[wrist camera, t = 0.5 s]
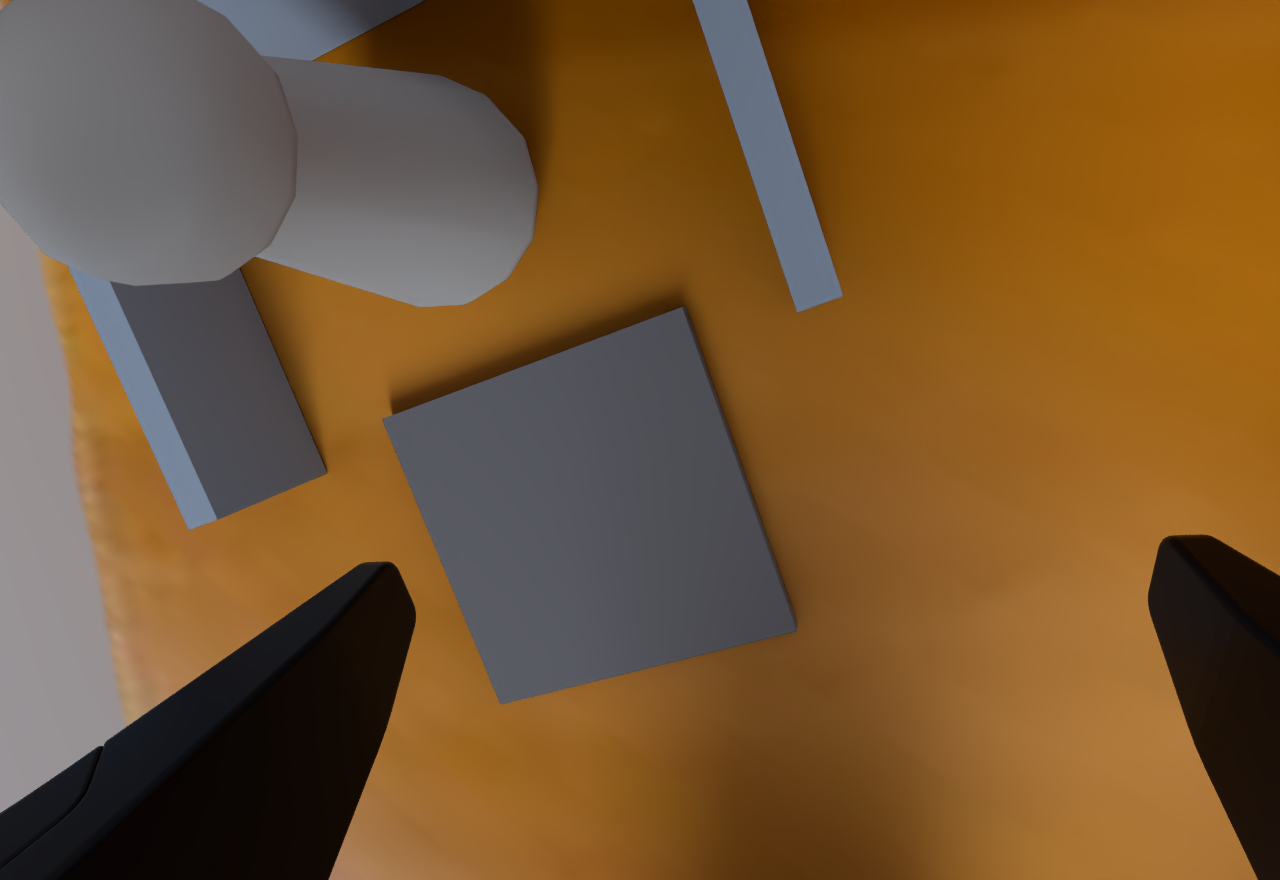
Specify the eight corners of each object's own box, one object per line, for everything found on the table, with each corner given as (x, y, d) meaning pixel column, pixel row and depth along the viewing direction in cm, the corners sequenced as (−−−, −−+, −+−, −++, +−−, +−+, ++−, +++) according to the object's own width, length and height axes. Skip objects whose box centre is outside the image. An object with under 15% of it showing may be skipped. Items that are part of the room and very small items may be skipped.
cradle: (834, 290, 21) (843, 296, 16) (302, 482, 26) (189, 530, 21) (678, -184, 19) (638, -332, 15) (142, 112, 24) (-21, 72, 19)
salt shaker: (439, 55, 22) (-39, -230, 9) (601, 173, 22) (331, 38, 9) (346, 231, 24) (-165, 185, 11) (495, 342, 23) (145, 422, 11)
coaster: (797, 622, 23) (797, 631, 23) (507, 694, 26) (500, 704, 25) (685, 305, 22) (682, 307, 21) (391, 415, 25) (381, 419, 24)
